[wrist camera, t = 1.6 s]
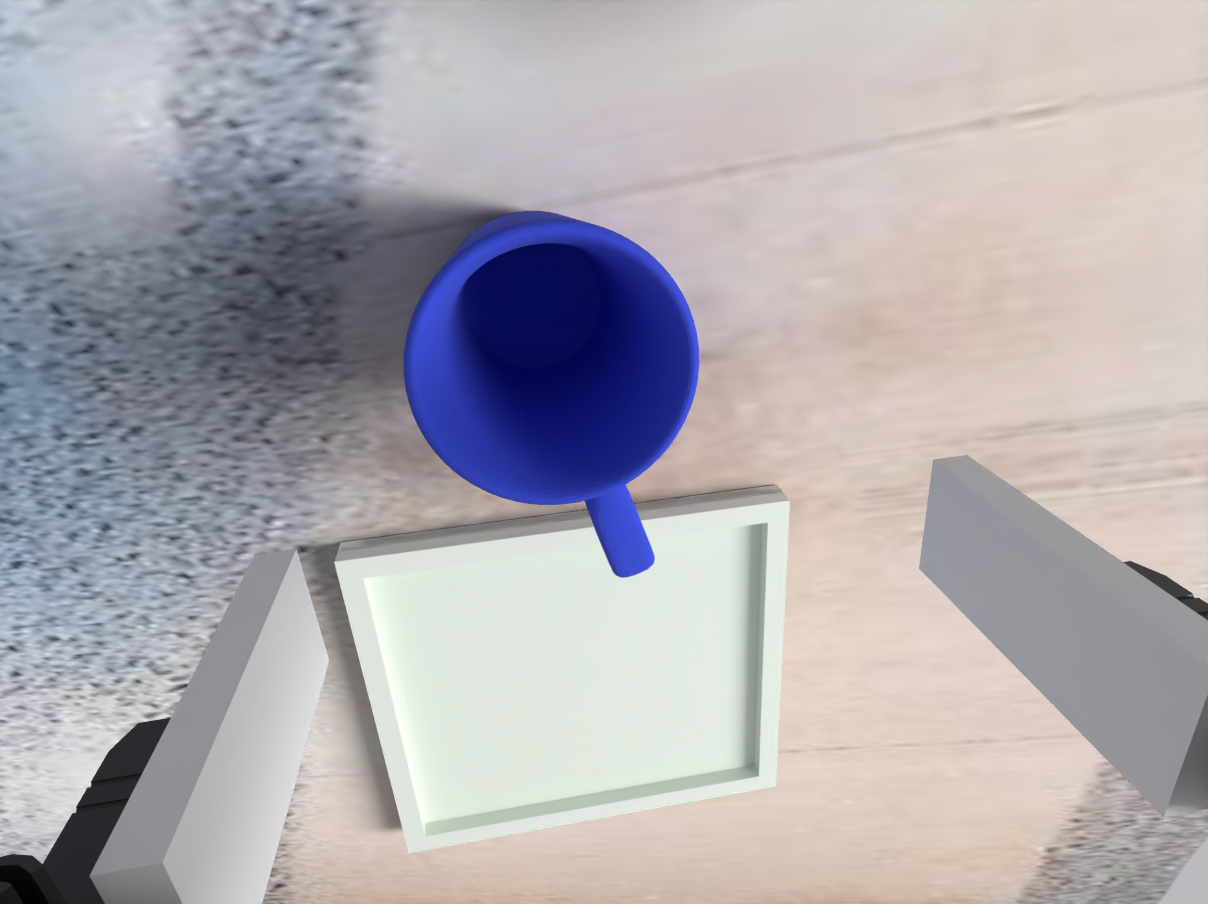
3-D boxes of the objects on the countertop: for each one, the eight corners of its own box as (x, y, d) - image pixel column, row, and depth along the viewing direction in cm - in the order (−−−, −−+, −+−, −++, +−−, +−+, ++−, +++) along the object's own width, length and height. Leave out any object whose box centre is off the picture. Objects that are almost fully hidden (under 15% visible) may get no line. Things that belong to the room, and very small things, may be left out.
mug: (513, 497, 33) (526, 640, 24) (389, 236, 27) (346, 291, 18) (684, 430, 33) (763, 548, 24) (593, 156, 27) (650, 171, 18)
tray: (340, 542, 32) (333, 562, 31) (776, 484, 35) (789, 500, 33) (411, 826, 40) (408, 853, 38) (765, 763, 42) (775, 786, 41)
